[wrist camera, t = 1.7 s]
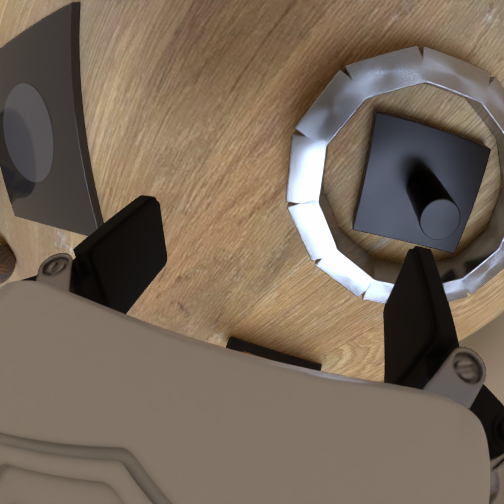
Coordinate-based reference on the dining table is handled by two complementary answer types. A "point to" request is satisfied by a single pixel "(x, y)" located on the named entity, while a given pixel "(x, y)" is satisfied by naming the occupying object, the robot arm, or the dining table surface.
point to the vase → (6, 263)
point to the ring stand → (418, 182)
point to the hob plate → (47, 126)
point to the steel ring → (333, 120)
